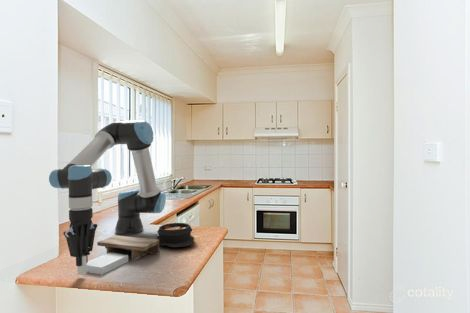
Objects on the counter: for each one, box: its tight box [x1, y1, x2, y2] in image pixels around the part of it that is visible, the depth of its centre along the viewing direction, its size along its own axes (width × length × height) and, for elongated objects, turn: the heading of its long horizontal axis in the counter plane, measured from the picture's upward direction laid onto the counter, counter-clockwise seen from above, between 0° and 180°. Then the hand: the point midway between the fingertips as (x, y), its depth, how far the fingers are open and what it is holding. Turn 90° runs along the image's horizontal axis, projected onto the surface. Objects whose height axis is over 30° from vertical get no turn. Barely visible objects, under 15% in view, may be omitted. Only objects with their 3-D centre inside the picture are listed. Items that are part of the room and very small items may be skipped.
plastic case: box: [87, 252, 129, 275], centre depth 117 cm, size 14×10×3 cm
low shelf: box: [97, 234, 160, 261], centre depth 129 cm, size 11×24×6 cm, turn 71°
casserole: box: [156, 222, 195, 248], centre depth 145 cm, size 25×19×8 cm
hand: (82, 273), depth 106 cm, fingers closed
